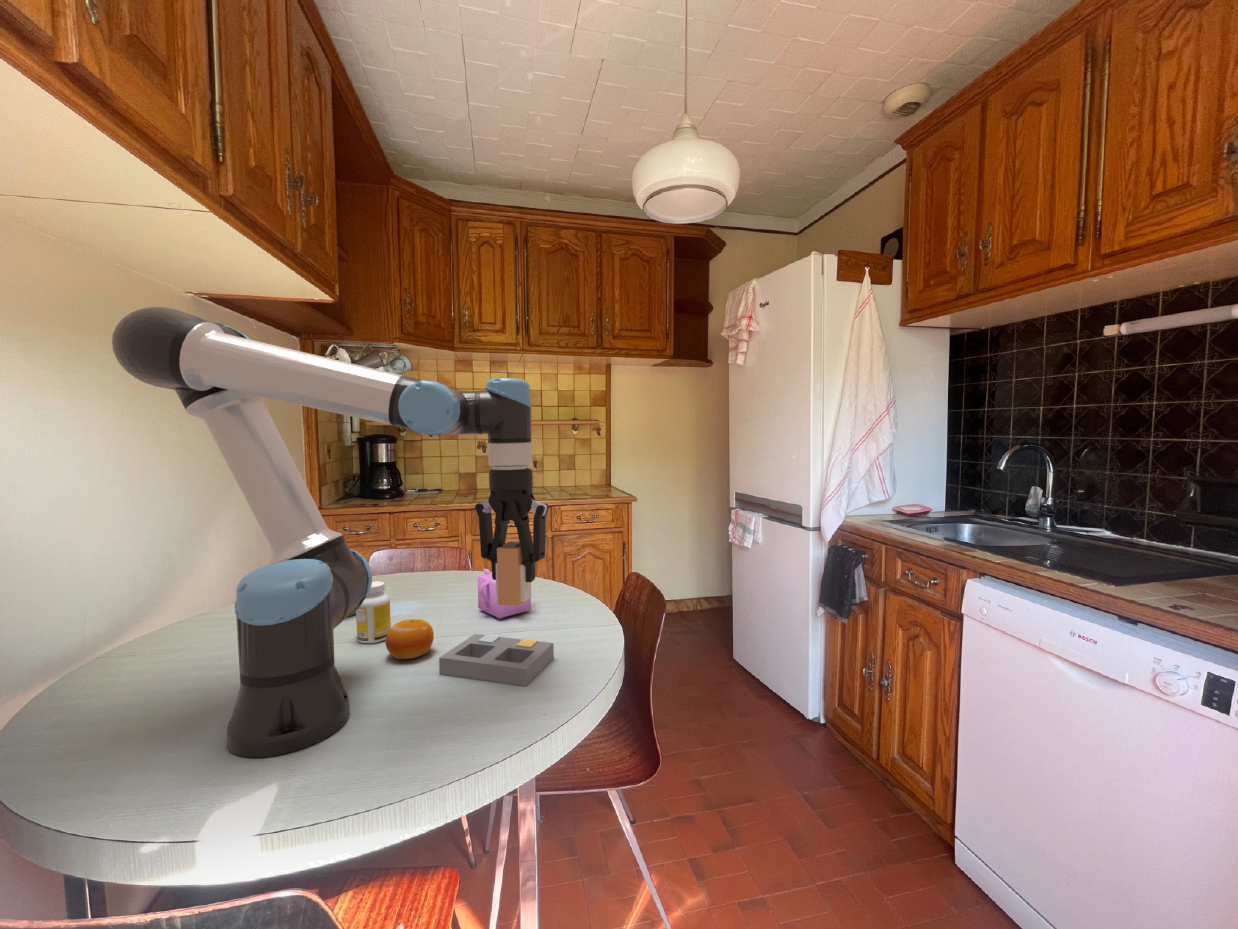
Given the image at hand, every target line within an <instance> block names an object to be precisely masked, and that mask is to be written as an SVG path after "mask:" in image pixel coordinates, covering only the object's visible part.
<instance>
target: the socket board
mask: <svg viewBox="0 0 1238 929" xmlns="http://www.w3.org/2000/svg"><path fill="white" fill-rule="evenodd" d="M554 648H555V647H554V642H549V641H540V640H537V639H527V638H522V639H521V638H513V637H503V636H501V635H493V634H477V633H474V634H472V635H470V636H469V637H468V638H467V639H465V640H463V641H462V642H461V643H459V644H457V645H456V646H453V648H451V649H450V650H449V651H447V652H445V653H444V654H442V655H441V656H439V657H438V662H439V663H438V664H439V666H438V669H439V675H443V676H450V677H457V678H465V679H471V680H472V679H473V680H479V681H486V682H492V683H500V684H506V685H514V686H520V687H527V686H528V685H529V684H531V682H532V681H533V680H534V679H535V678H536V677H537V676H538V675H539V674H540V673H541V672H542V671H543V670H544V669H545V668H546V667H547V666H548V665H549V664H550V663H551V662H552V661H553V660H554V659H555V658H554V657H555V653H554Z"/></svg>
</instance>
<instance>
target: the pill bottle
mask: <svg viewBox="0 0 1238 929" xmlns="http://www.w3.org/2000/svg"><path fill="white" fill-rule="evenodd" d="M385 589H386V588H385V582H384V581H379V580H377V581H372V585H371V589H370V591H369V594H368V595H367V597H366V599H365V600H364V602H363V603H362V605H361V606H360V607H359V608H358V609H357V610H356V614H355V616H356V617H355V621H356V623H355V624H356V639H357V641H358V642H359V643H362V644H375V643H376V644H377V643H379V642H383V641H385V640H386V636H387V633H388V631H389V630H390V628H391V627H392V625H391V624H392V623H391V620H392V619H391V605H390V604H391V600H390V596H389V594H387V593H385V592H384V591H385Z"/></svg>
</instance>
